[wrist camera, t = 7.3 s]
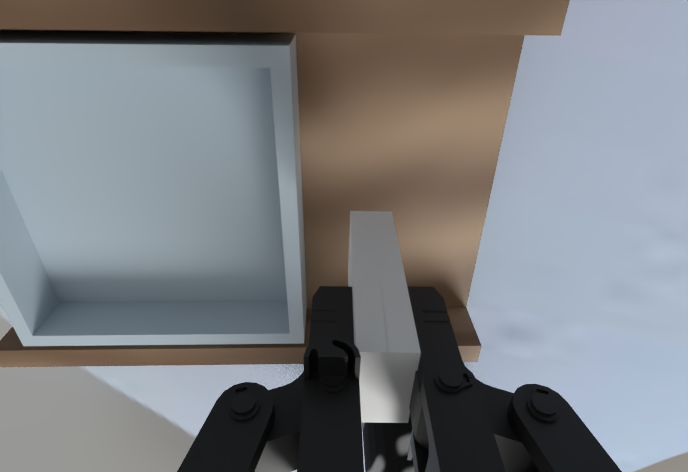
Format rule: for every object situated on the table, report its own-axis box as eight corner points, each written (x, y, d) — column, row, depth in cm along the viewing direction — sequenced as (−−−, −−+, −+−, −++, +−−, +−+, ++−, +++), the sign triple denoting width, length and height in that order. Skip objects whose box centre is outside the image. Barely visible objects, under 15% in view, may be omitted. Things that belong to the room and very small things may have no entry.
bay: (-108, -32, 17) (-236, -32, 13) (521, -23, 18) (574, -20, 14) (51, 313, 26) (4, 372, 23) (455, 310, 27) (475, 366, 23)
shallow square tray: (-68, 29, 17) (-140, 41, 14) (295, 34, 17) (289, 46, 14) (55, 306, 24) (23, 346, 22) (307, 304, 24) (304, 343, 22)
